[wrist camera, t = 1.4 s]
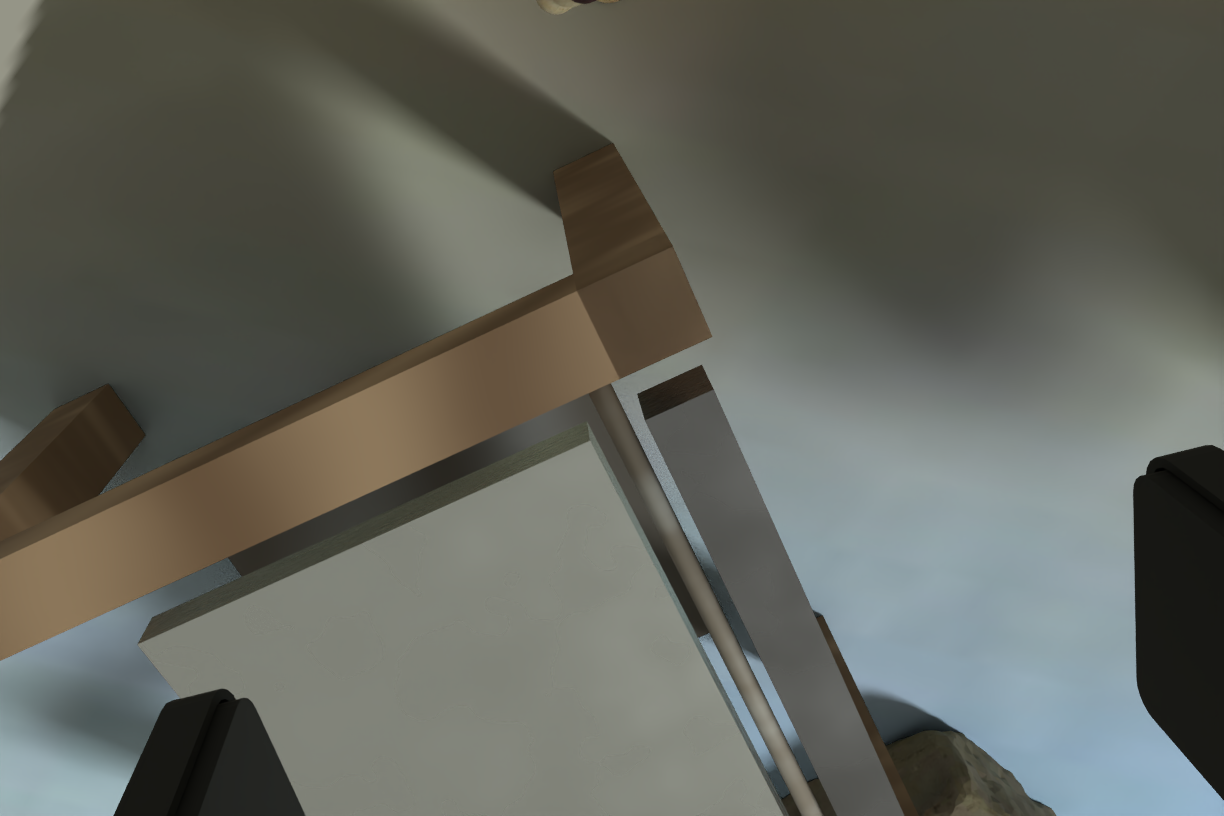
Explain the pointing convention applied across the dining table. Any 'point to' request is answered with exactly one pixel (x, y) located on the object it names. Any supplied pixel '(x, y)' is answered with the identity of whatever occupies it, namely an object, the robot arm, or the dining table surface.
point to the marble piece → (947, 780)
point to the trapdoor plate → (529, 646)
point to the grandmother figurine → (564, 4)
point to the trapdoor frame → (386, 450)
